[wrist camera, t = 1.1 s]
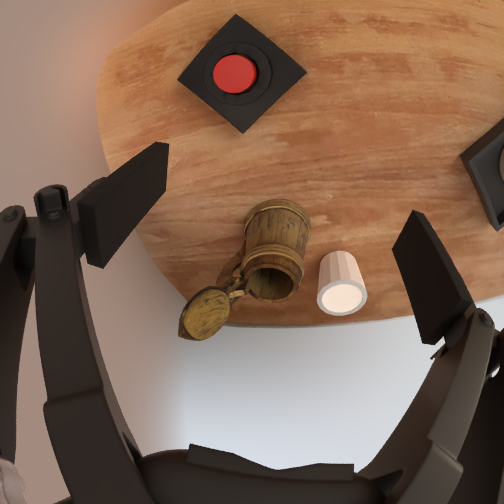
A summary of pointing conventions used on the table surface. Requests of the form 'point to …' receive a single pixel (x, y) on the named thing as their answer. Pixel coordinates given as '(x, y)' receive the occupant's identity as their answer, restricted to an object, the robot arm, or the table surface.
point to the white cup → (340, 284)
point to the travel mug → (502, 164)
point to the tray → (488, 172)
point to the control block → (267, 73)
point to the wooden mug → (254, 268)
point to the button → (234, 73)
